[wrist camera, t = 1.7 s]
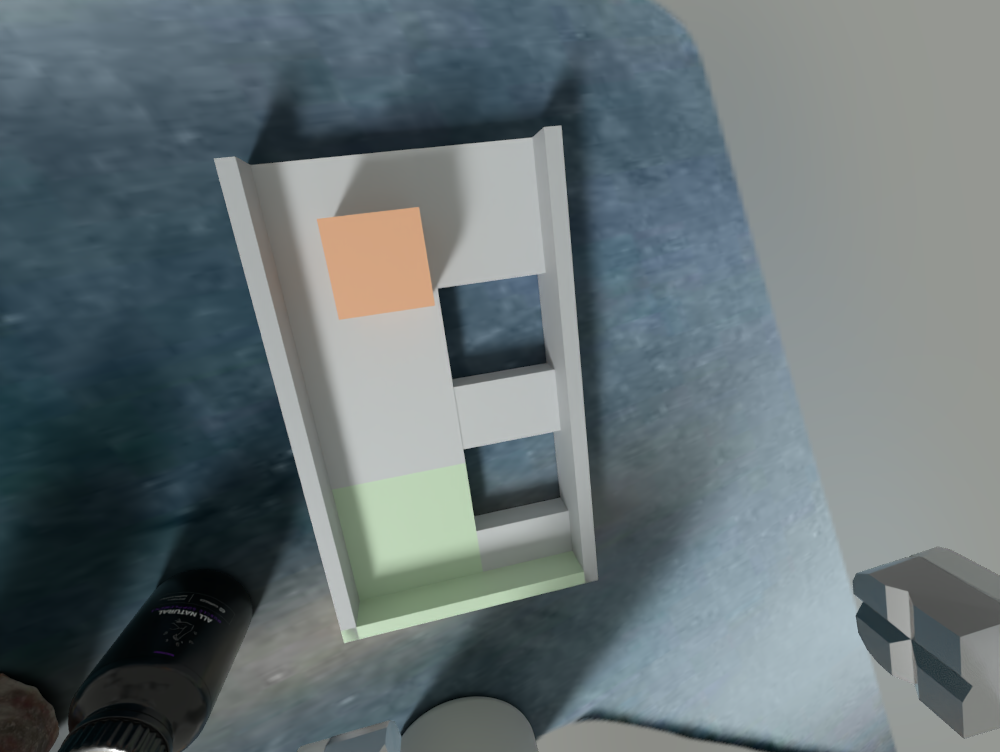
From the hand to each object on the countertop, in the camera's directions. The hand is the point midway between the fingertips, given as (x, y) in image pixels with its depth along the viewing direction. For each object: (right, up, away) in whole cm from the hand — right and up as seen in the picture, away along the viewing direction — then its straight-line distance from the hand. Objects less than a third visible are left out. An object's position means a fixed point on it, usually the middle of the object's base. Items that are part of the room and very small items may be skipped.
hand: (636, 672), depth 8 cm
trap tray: (-7, +4, +25) cm, 26 cm away
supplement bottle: (-24, -11, +26) cm, 37 cm away
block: (-9, +12, +21) cm, 25 cm away
